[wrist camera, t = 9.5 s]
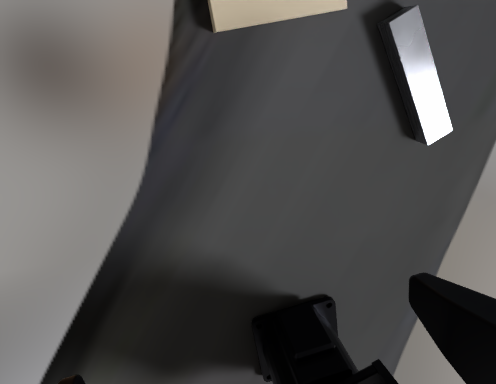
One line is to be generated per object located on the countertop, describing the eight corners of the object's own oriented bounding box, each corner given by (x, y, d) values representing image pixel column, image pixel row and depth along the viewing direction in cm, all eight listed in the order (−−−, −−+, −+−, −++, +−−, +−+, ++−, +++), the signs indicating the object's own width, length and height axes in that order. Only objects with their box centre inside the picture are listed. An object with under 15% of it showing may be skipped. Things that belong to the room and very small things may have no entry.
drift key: (439, 126, 23) (452, 130, 22) (415, 140, 23) (428, 145, 22) (404, 7, 20) (418, 4, 19) (377, 24, 20) (389, 23, 19)
